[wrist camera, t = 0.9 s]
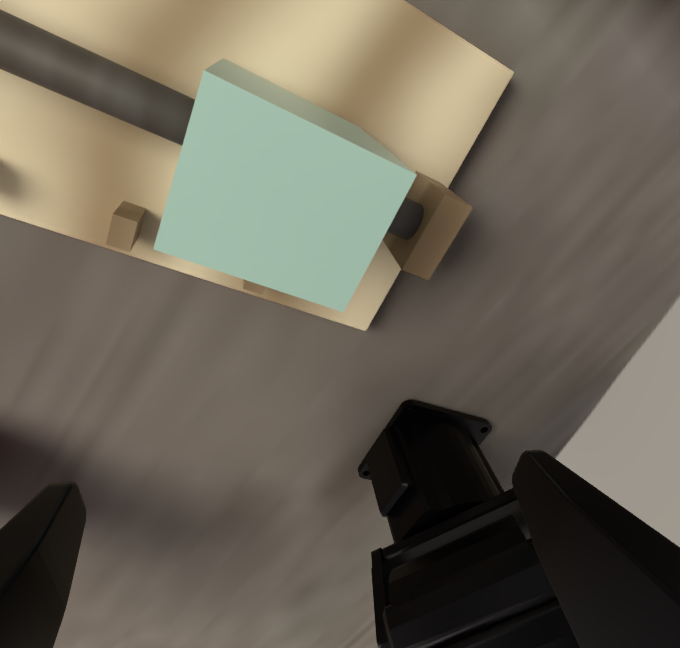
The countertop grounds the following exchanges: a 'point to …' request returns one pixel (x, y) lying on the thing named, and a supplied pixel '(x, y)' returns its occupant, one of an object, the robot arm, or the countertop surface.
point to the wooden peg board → (179, 97)
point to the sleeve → (279, 190)
